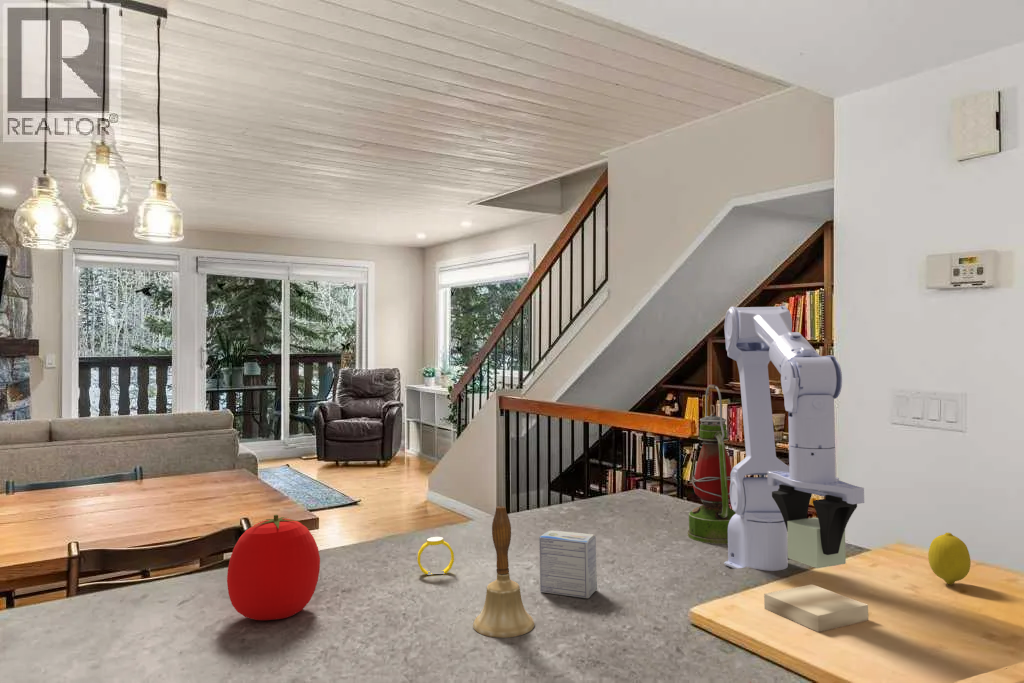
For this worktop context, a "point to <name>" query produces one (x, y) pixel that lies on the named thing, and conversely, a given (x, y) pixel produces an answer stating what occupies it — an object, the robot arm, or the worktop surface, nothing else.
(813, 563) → the cube
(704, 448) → the lantern
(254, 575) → the tomato
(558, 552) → the medicine box
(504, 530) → the hand bell
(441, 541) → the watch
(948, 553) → the lemon
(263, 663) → the worktop surface
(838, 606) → the slab top
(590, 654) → the worktop surface
